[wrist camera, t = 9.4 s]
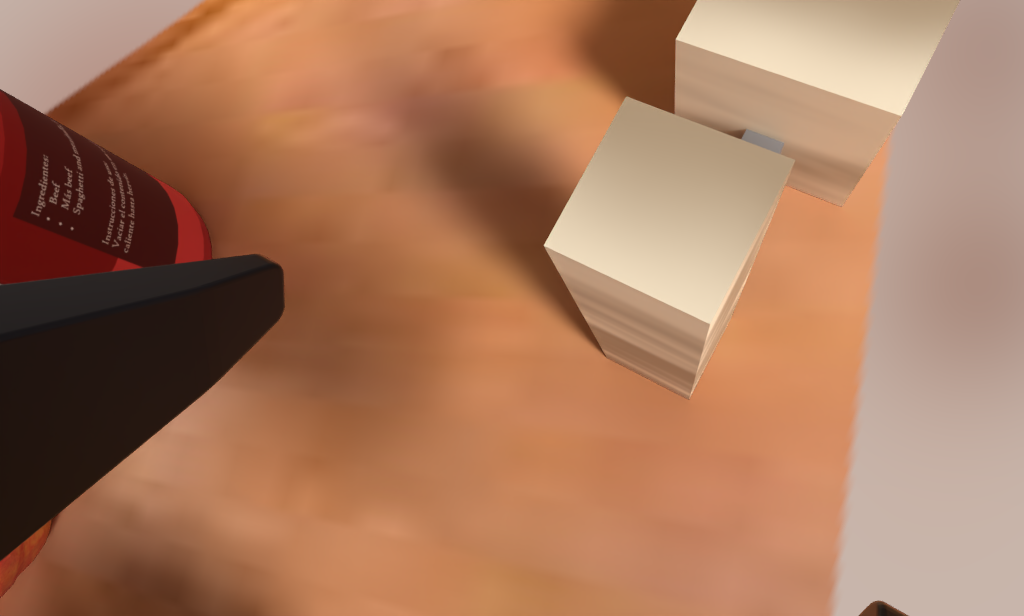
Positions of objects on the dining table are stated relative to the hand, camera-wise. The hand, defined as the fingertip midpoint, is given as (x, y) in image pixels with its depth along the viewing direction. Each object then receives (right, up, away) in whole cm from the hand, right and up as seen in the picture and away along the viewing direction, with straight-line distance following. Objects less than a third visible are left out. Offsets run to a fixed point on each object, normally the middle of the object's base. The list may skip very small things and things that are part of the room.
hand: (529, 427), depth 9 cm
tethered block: (+8, +5, +14) cm, 17 cm away
